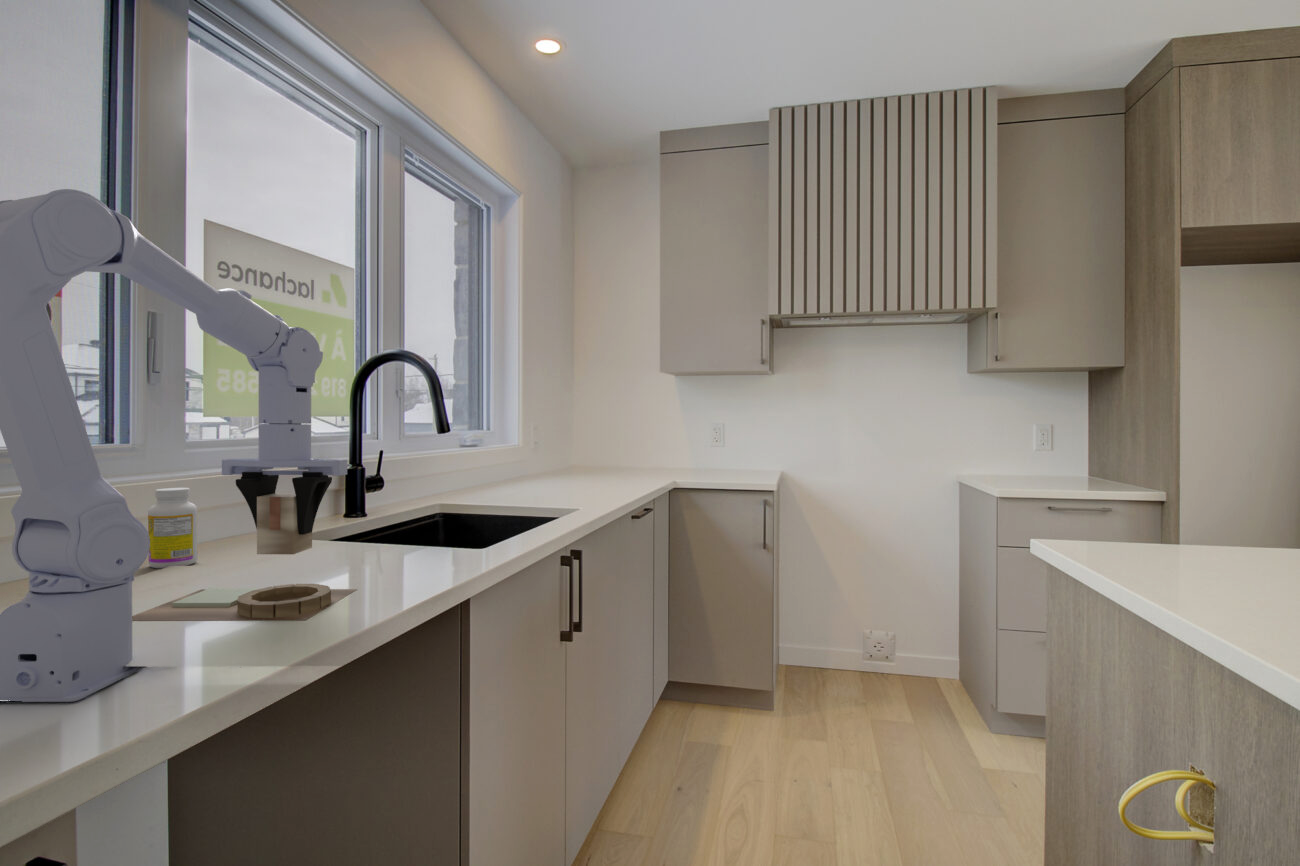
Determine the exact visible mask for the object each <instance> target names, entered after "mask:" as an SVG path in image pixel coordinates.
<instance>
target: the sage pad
mask: <svg viewBox="0 0 1300 866" xmlns="http://www.w3.org/2000/svg"><path fill="white" fill-rule="evenodd" d="M258 589H262V588H261V587H260V588H256V587H255V588H254V587H253V588H250V587H249V588H247V587H246V588H241V587H240V588H238V587H236V588H235V587H234V588H229V587H228V588H208V589H207V590H204V591H202V592H199V593H197V594H194V595H191V596H189V597H186V598H184V599H181V600H179V601H176V602H173V603H172V607H231V606H233V605H235V604H237V603H238V597H239V596H241V595H243V594H245V593H247V592H250V591H253V590H258Z"/></svg>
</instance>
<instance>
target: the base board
mask: <svg viewBox="0 0 1300 866" xmlns="http://www.w3.org/2000/svg"><path fill="white" fill-rule="evenodd" d="M204 590H207V589H200V590H196V591H194V592H191V593H188V594H186V595H183V596H181V597H178V598H175V599H173V600H170V601H168V602H165V603H162V604H160V605H157V606H155V607H152V608H149V609H147V610H145V611H141V612H139V613H136V614H134V615H132V622H189V621H190V622H195V621H196V622H200V621H201V622H202V621H203V622H204V621H205V622H214V621H215V622H221V621H222V622H223V621H224V622H225V621H226V622H227V621H228V622H232V621H236V622H237V621H239V622H242V621H243V622H245V621H246V622H247V621H252V622H253V621H254V622H255V621H259V622H260V621H262V622H263V621H264V622H266V621H271V622H272V621H274V622H275V621H277V622H279V621H282V622H283V621H284V622H285V621H288V622H289V621H291V622H292V621H294V622H295V621H296V622H297V621H307V620H309V619H310V618H313V617H314V616H316V615H317V614H319V613H321V612H322V611H324V610H326V609H327V608H329V607H331V606H333V605H334V604H336V603H338V602H339V601H341V600H342V599H344V598H346V597H347V596H349V595H351V594H353V593H354V592H355V591H357V590H358V588H346V589H345V588H331V587H330V586H328V585H324V584H320V583H291V584H280V585H273V586H268V587H263V588H262V589H258V590H253V591H250V592H247V593H245V594H243V595H241V596H239V597H238V603H237V604H235V605H233V606H231V607H172V603H173V602H176V601H179V600H181V599H184V598H186V597H189V596H191V595H194V594H197V593H199V592H202V591H204Z"/></svg>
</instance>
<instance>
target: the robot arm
mask: <svg viewBox="0 0 1300 866" xmlns="http://www.w3.org/2000/svg"><path fill="white" fill-rule="evenodd" d="M87 272H88V273H89V272H90V273H91V272H92V273H109V274H111V273H112V274H119V275H121V276H123V277H125V278H126V279H129V280H131V281H133V282H135V283H136V284H138V285H141V287H144V288H146V289H148V290H149V291H152V292H154V293H155V294H157V295H159V296H161V297H163V298H165V299H166V300H169V301H170V302H172V303H174V304H176V305H178V306H180V307H181V308H183V309H186V310H188V311H189V312H191V313H193V314H195V316H196V322H197V325H198V327H199V328H200V330H201V331H203V332H205V333H206V334H208V335H210V336H212V337H213V338H214V339H217V340H218V341H220V342H222V343H223V344H225V345H227V346H228V347H231V348H233V349H234V350H236V351H238V352H239V353H241V354H243V355H244V356H245V357H246V359H247V362H248V364H249V365H250V367H252V369H253V370H254V371H256V372H258V458H226V459H224V458H223V459H221V475H222V476H233V475H236V476H237V475H240V478H237V479H235V486H236V487H237V489H238V490H239V491H240V493H241V495H242V496H243V498H244V499H245V501H246V503H247V505H248V508H249V510H250V512H251V515H252V518H253V521H254V522H253V523H254V525H255V528H256V530H257V497H258V496H264V495H269V494H274V493H276V491H277V490H276V489H277V486H278V482H279V477H280V476H281V475H282V476H284V475H285V476H288V475H289V476H297V477H292V478H291V481H292V484H293V488H294V493H295V494H296V500H297V526H298V533H299V534H301V535H303V534H307V533H310V532H312V533H313V529H314V525H315V524H314V523H315V520H316V517H317V513H318V510H319V507H320V505H321V502H322V500H323V498H324V497H325V494H326V492H327V491H328V489H329V487H330V485H331V484H332V481H333V477H332V476H336V477H338V476H339V477H340V476H345V475H348V459H347V458H346V459H345V458H343V459H337V458H336V459H334V458H333V459H332V458H331V459H330V458H312V387H313V386H314V383H316V372H317V370H318V369H319V367H320V366H321V365H322V362H323V359H324V358H323V357H324V352H323V351H321V349H320V345H319V342H318V340H317V338H316V337H315V336H314V335H313V334H312V333H311V332H310V331H308V329H305V328H303V327H301V326H298V327H297V326H294V327H293V326H292V327H290V326H289V325H288V324H287V323H286V322H285V320H284V318H283V317H281V316H280V315H279V314H272V312H270V311H268V310H266V309H265V308H264V307H261V305H259V304H257V303H256V302H254V301H253V300H251V299H252V294H250V293H249V292H248V291H246V290H244V289H239V290H236V289H235V288H230V287H229V288H228V287H227V288H222V289H216V288H215V287H213V286H212V285H210V284H209V283H208V282H206V281H205V280H203V279H202V278H201V277H200V276H198V275H197V274H196V273H194V272H193V271H191V270H190V269H189V268H187V267H186V266H184V265H183V264H182V263H180V262H179V261H178V260H176V259H175V258H173V257H172V256H171V255H170V254H168V253H166V252H165V251H164V250H162V249H161V248H160V247H159V246H157V245H156V244H154V243H153V242H152V241H150V240H149V238H148V239H147V238H146V237H145V236H143V234H141V233H140V232H139V231H138V230H137V229H136V227H135V226H134V224H133V223H132V221H131V220H130V218H128V217H127V216H126V215H124V214H122V213H120V212H118V211H116V210H114V209H110V208H109V207H108V206H107V205H106V204H105V203H104V202H103V201H101V200H100V199H99V198H97V197H95V196H94V195H91V194H90V193H87V192H84V191H82V190H77V189H72V188H71V189H70V188H66V189H65V188H61V189H56V190H52V191H50V192H48V193H45V194H40V195H35V196H30V197H29V196H28V197H25V198H24V197H23V198H19V199H6V200H0V433H1V435H2V440H3V441H4V444H5V447H6V449H7V452H8V455H9V457H10V460H11V463H12V466H13V469H14V472H15V474H16V477H17V479H18V482H19V485H20V487H21V494H20V495H19V497H18V498H17V499H16V501H15V503H14V504H13V506H12V508H11V515H12V517H13V521H14V525H15V528H14V529H15V531H14V535H13V539H12V543H11V553H12V557H13V558H14V561H15V563H16V564H17V565H18V566H19V567H20V568H21V569H23V570H25V572H28V573H29V574H28V575H29V578H28V579H29V580H28V592H27V593H26V595H25V596H24V597H23V598H22V599H21V600H20V601H18V602H16V603H14V604H12V605H10V606H8V607H7V608H5V609H4V610H3V611H1V613H0V700H8V701H9V700H10V701H22V702H21V703H52V702H53V703H55V702H56V703H59V702H60V703H64V702H65V703H69V702H70V703H72V702H77V701H80V700H82V699H83V698H86V697H88V696H89V695H92V694H94V693H96V692H98V691H100V690H101V689H104V688H106V687H108V686H111V685H112V684H114V683H116V682H118V681H120V680H122V679H125V678H126V677H128V676H130V675H132V674H134V673H137V672H138V671H140V670H143V669H144V668H146V667H147V665H146V666H145V665H141V666H138V665H137V666H136V665H135V666H130V665H129V666H128V665H127V664H129V663H131V661H132V660H133V621H132V616H133V582H134V581H135V573H136V572H137V571H138V570H139V569H140V568H141V567H142V566H143V565H144V563H145V561H146V559H147V558H148V552H149V548H150V538H149V534H148V530H147V529H148V528H147V527H146V526H145V525H144V524H143V522H141V521H140V520H139V519H137V518H136V516H134V515H133V513H132V512H131V510H130V509H129V507H128V503H127V501H126V497H124V495H122V493H120V492H119V491H118V490H117V489H116V488H115V487H114V486H113V485H111V483H109V482H108V480H106V479H105V478H104V477H103V476H102V475H101V471H100V468H99V466H98V462H97V459H96V456H95V453H94V450H93V446H92V444H91V441H90V438H89V435H88V431H87V429H86V426H85V425H86V424H85V423H84V420H83V417H82V414H81V411H80V408H79V405H78V401H77V399H76V396H75V392H74V388H73V386H72V383H71V380H70V377H69V374H68V371H67V368H66V365H65V362H64V359H63V356H62V353H61V349H60V346H59V344H58V340H57V338H56V335H55V331H54V329H53V325H52V322H51V319H50V316H49V313H48V311H47V305H48V303H49V302H50V301H51V300H52V299H53V298H54V297H55V296H56V295H57V294H58V293H59V292H60V291H61V290H62V289H63V288H64V287H65V286H66V285H67V284H68V283H69V282H70V281H72V279H73V278H75V277H78V276H79V275H81V274H83V273H87ZM274 468H297V470H272V469H274ZM126 665H127V666H126Z"/></svg>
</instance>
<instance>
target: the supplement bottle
mask: <svg viewBox="0 0 1300 866" xmlns="http://www.w3.org/2000/svg"><path fill="white" fill-rule="evenodd" d="M190 495H191V488H190V487H168V488H157V489H155V492H154V496H155V498H156V503H155V504H153V505H152V506H150V507H149V508H148V510H147V513H148V514H147V521H148V522H147V523H148V524H147V525H148V526H147V529H148V530H147V531H148V534H149V538H150V548H149V552H148V555H147V557H148V565H149V567H151V568H152V569H165V568H166V569H167V568H169V567H174V566H175V567H179V566H180V567H186V566H189V565H193V564H195V563H196V562H197V561H198V507H197V505H196V504H194V502H190V501H189V497H190Z"/></svg>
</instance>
